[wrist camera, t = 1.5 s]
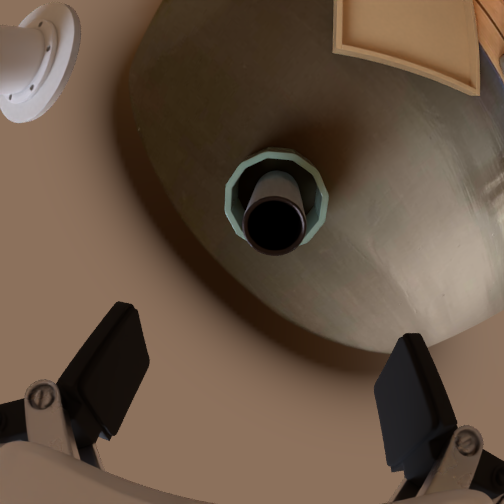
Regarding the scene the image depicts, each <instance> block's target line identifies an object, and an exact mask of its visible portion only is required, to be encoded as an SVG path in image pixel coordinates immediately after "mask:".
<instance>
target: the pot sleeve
mask: <svg viewBox="0 0 504 504" xmlns="http://www.w3.org/2000/svg"><path fill="white" fill-rule="evenodd" d="M266 158H273V159H284V160H293V161H294V162H296V163H297V164H298V165H300V166H301V167H303V168H304V169H305V170H307V171H308V172H310V173H311V174H312V176H313V178H314V181H315V183H316V185H317V188H316V195H315V203H314V206H313V208H312V209H311V210H310V211H309V213H308V214H307V215H306V216H305V217H306V223H307V229H306V234H305V237H304V239H303V241H302V242H301V244H300V245H302V244H304V243H307V242H308V241H310V240H311V238H312V237H313V236H314V235H315V233H316V232H317V231H318V230H319V229H320V227H321V226H322V225H323V224H324V221H325V219H326V213H327V207H328V200H329V195H328V192H327V190H326V187H325V185H324V182H323V180H322V178H321V175H320V173H319V171H318V170H317V168H316V167H315V166H314V164H313V163H312V162H311V161H309V160H308V159H306V158H305V157H304V156H302V155H301V154H299V153H298V152H297V151H295V150H293V149H287V148H277V147H267V148H265V149H263V150H261V151H258V152H256V153H254V154H252V155H250V156H248V157H247V158H245V159H244V160H243V161H242V162H241V163H240V164H239V166H238V167H237V169H236V170H235V172H234V174H233V175H232V177H231V178H230V180H229V181H228V183H227V184H226V187H225V214H226V215H227V217H228V219H229V221H230V223H231V225H232V226H233V228H234V230H235V232H236V234H238V236H240V237H241V238H243V239H245V236H244V234H243V229H242V221H243V217H244V214H245V210H244V208H243V206H242V204H241V202H240V200H239V199H238V193H239V178H240V176H241V175H242V174H243V172H244V171H245V169H246V168H247V167H249V166H251V165H253V164H256V163H258V162H260V161H262V160H264V159H266ZM245 240H246V239H245ZM246 241H247V240H246Z"/></svg>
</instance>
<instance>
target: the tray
mask: <svg viewBox="0 0 504 504" xmlns="http://www.w3.org/2000/svg"><path fill="white" fill-rule="evenodd" d="M333 53H336V54H342V55H347V56H352V57H357V58H361V59H365V60H370V61H374V62H378V63H382V64H385V65H389V66H392V67H396V68H399V69H403V70H406V71H409V72H412V73H415V74H418V75H421V76H424V77H426V78H429V79H432V80H434V81H437V82H440V83H442V84H445V85H447V86H449V87H452V88H454V89H456V90H459V91H461V92H463V93H465V94H468V95H470V96H480V59H479V44H478V33H477V25H476V17H475V11H474V5H473V0H334V22H333Z"/></svg>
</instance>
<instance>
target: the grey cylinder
mask: <svg viewBox="0 0 504 504" xmlns="http://www.w3.org/2000/svg"><path fill="white" fill-rule="evenodd" d="M242 229H243V234H244V236H245V239H246V240H247V242H248V243H249V244H250V245H251V246H252V247H253V248H254V249H255V250H257V251H258V252H260V253H263V254H266V255H271V256H279V255H284V254H287V253H289V252H291V251H293V250H294V249H296V248H297V247H298V246H299V245H300V244H301V242H302V241H303V239H304V237H305V234H306V229H307V223H306V217H305V213H304V208H303V204H302V199H301V195H300V191H299V187H298V184H297V182H296V181H295V179H294V178H293V177H292V176H291V175H290V174H288V173H286V172H283V171H271V172H268V173H266V174H264V175H263V176H262V177H261V178H260V179H259V181H258V182H257V184H256V186H255V189H254V191H253V194H252V196H251V199H250V201H249V204H248V206H247V209H246V211H245V214H244V217H243V221H242Z"/></svg>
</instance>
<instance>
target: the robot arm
mask: <svg viewBox="0 0 504 504" xmlns="http://www.w3.org/2000/svg"><path fill="white" fill-rule="evenodd" d="M56 49H57V31H56V28H55V26H54V25H53V23H52V22H50V21H48V20H44V19H38V20H35V21H32V22H31V23H29V24H28V25H26V26H25V27H17V26H6V25H0V95H4V96H5V98H6V99H7V100H8V101H9V102H10V103H13V104H18V103H23V102H26V101H28V100H29V99H31V98H32V97H33V96H34V95H35V94H36V93H37V92H38V91H39V89H40V88H41V87H42V85H43V83H44V82H45V80H46V78H47V76H48V74H49V72H50V70H51V67H52V65H53V62H54V58H55V55H56ZM149 361H150V360H149V355H148V352H147V348H146V344H145V340H144V336H143V332H142V328H141V323H140V319H139V314H138V311H137V309H135V308H134V306H133V305H132V304H129V303H124V302H119V301H118V302H116V303H115V304H114V306H113V307H112V308H111V309H110V311H109V312H108V313H107V314H106V316H105V317H104V318H103V320H102V321H101V322H100V324H99V325H98V326H97V327H96V329H95V330H94V331H93V333H92V334H91V335H90V336H89V338H88V339H87V341H86V342H85V343H84V345H83V346H82V347H81V349H80V350H79V351H78V353H77V354H76V356H75V357H74V358H73V360H72V361H71V362H70V364H69V365H68V367H67V368H66V369H65V371H64V372H63V374H62V375H61V377H60V378H59V380H58V382H57V383H56V384H55V383H54V382H52V381H50V380H46V379H45V380H38V381H36V382H34V383H33V384H31V385H30V386H29V387H28V389H27V391H26V393H25V398H24V399H20V400H16V401H12V402H8V403H4V404H0V504H214V503H208V502H204V501H199V500H193V499H189V498H185V497H181V496H177V495H173V494H169V493H166V492H162V491H159V490H155V489H152V488H149V487H146V486H143V485H140V484H137V483H134V482H131V481H128V480H126V479H123V478H121V477H118V476H115V475H113V474H110V473H108V472H105V469H104V467H103V464H102V462H101V458H100V456H99V452H98V450H97V446H96V441H97V438H98V437H101V438H103V439H106V440H108V441H110V439H111V437H112V436H115V435H116V434H117V432H118V430H119V428H120V426H121V424H122V422H123V419H124V417H125V415H126V413H127V411H128V409H129V407H130V404H131V402H132V400H133V398H134V396H135V394H136V392H137V390H138V388H139V386H140V384H141V382H142V380H143V377H144V375H145V373H146V371H147V369H148V367H149ZM374 394H375V399H376V403H377V409H378V414H379V419H380V424H381V430H382V436H383V441H384V448H385V454H386V461H387V465H388V466H391V471H392V472H396V471H402V470H404V475H405V477H404V479H403V480H402V482H401V483H400V485H399V486H398V488H397V489H396V491H395V493H394V494H393V496H392V497H391V498H390V500H389V501H388V503H384V504H504V461H502V460H501V459H499V458H497V457H496V456H494V455H492V454H491V453H489V452H487V451H485V450H484V449H483V439H482V436H481V434H480V432H479V431H478V430H477V429H476V428H474V427H472V426H469V425H464V426H461V427H459V428H458V427H457V420H456V417H455V414H454V412H453V409H452V406H451V404H450V401H449V398H448V396H447V393H446V390H445V388H444V385H443V383H442V381H441V378H440V376H439V373H438V372H437V369H436V366H435V364H434V362H433V359H432V357H431V355H430V353H429V351H428V348H427V346H426V344H425V342H424V340H423V338H422V336H421V334H419V333H405V334H404V335H403V337H400V338H399V339H398V341H397V343H396V345H395V347H394V349H393V351H392V353H391V355H390V357H389V359H388V361H387V363H386V365H385V367H384V369H383V371H382V372H381V374H380V376H379V378H378V379H377V381H376V383H375V386H374Z"/></svg>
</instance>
